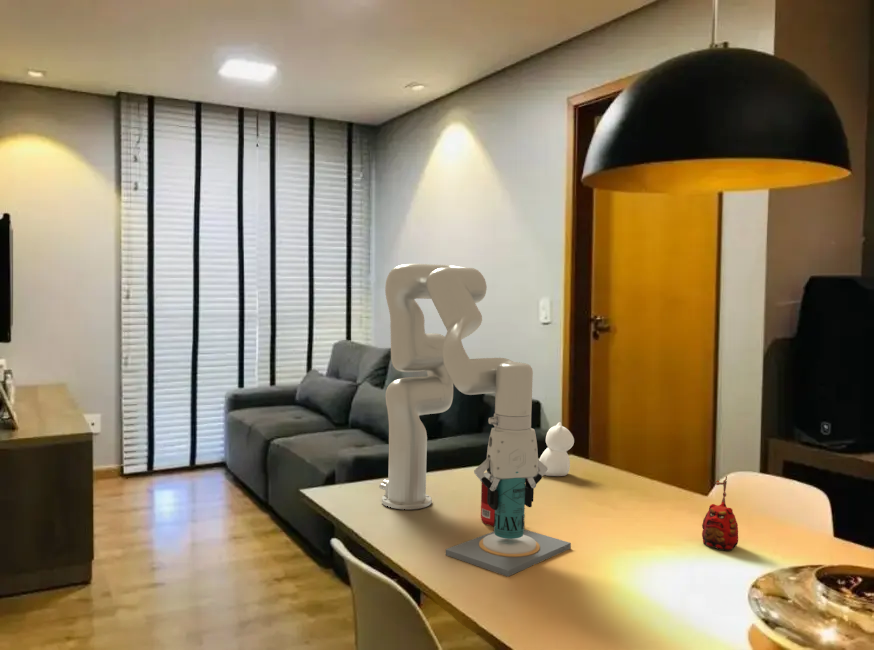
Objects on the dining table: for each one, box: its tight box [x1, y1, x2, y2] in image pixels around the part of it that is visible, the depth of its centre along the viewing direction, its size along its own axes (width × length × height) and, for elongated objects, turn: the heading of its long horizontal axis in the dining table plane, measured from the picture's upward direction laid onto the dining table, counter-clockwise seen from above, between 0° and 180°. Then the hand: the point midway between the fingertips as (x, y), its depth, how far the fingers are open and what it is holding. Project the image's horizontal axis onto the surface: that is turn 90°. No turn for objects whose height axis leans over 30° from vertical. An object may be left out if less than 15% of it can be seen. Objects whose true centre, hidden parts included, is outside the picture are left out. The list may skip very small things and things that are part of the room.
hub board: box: [445, 528, 572, 577], centre depth 161 cm, size 16×22×2 cm
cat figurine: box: [538, 421, 575, 477], centre depth 225 cm, size 9×12×15 cm
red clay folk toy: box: [701, 475, 739, 552], centre depth 167 cm, size 8×7×15 cm
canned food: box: [480, 471, 495, 527], centre depth 181 cm, size 8×8×11 cm
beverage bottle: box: [492, 472, 526, 539], centre depth 161 cm, size 6×7×20 cm
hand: (510, 506), depth 161 cm, fingers open, 7 cm apart
